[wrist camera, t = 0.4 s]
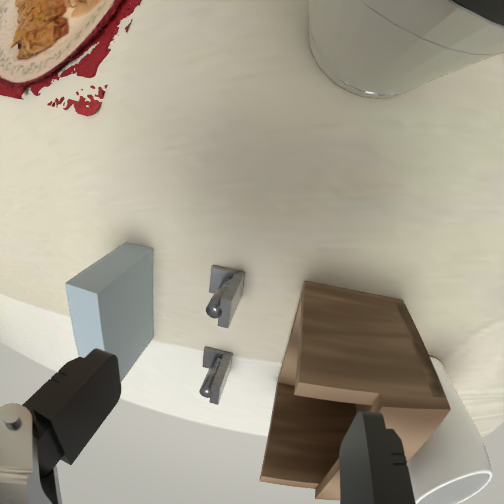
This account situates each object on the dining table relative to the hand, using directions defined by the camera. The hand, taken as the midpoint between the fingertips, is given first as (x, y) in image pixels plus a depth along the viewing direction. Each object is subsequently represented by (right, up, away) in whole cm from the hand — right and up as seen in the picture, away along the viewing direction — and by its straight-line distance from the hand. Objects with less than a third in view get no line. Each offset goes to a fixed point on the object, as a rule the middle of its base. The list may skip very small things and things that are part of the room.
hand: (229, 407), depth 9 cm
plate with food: (-20, +33, +11) cm, 40 cm away
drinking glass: (+18, -8, +18) cm, 27 cm away
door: (-10, +1, +20) cm, 23 cm away
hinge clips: (-1, -2, +20) cm, 20 cm away
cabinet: (+9, -4, +19) cm, 21 cm away
